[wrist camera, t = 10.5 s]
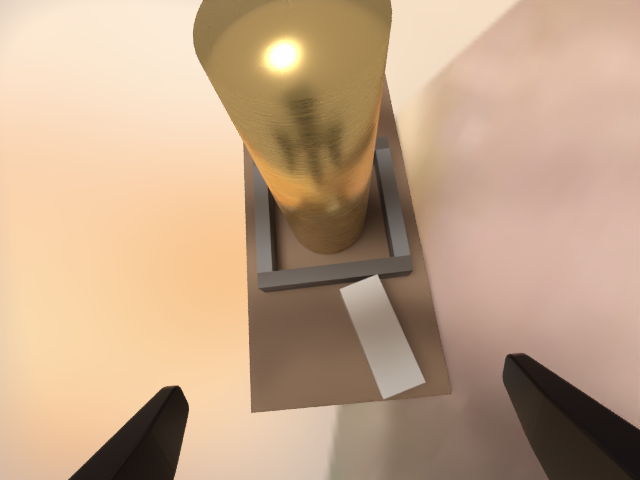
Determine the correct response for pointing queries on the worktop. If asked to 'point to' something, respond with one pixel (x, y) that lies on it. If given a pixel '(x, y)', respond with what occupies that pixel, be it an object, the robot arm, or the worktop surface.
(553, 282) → the worktop surface
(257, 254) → the shaft rig
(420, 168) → the worktop surface
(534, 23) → the worktop surface
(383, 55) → the olive gold cylinder
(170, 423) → the robot arm
